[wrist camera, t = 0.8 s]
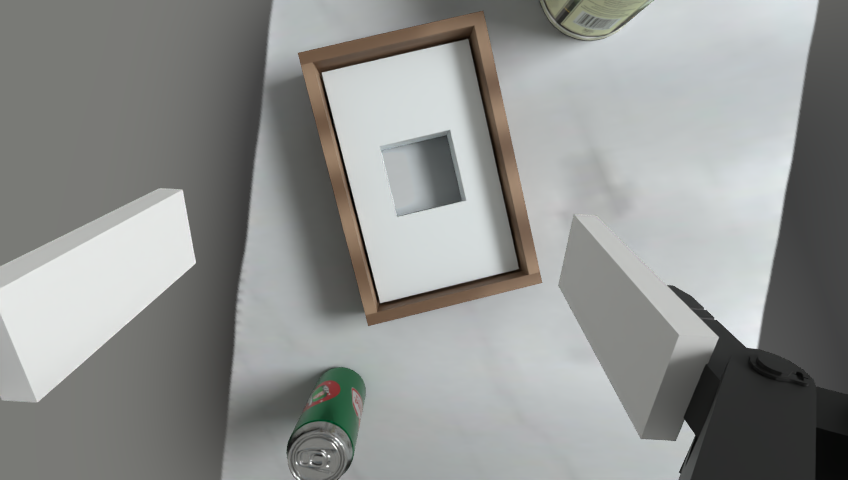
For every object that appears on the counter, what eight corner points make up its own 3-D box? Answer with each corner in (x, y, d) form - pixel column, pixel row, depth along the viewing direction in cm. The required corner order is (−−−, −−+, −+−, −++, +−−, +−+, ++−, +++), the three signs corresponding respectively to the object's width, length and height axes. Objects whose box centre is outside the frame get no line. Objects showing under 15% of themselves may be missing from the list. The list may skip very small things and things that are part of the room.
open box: (525, 273, 43) (542, 282, 38) (372, 311, 42) (368, 326, 37) (473, 34, 41) (483, 10, 36) (310, 71, 40) (297, 52, 35)
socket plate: (510, 264, 43) (519, 268, 40) (381, 296, 42) (380, 303, 39) (463, 51, 41) (468, 38, 38) (327, 82, 40) (321, 72, 37)
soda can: (362, 415, 43) (347, 496, 31) (313, 409, 43) (278, 489, 31) (369, 368, 43) (356, 431, 31) (319, 362, 42) (286, 423, 30)
